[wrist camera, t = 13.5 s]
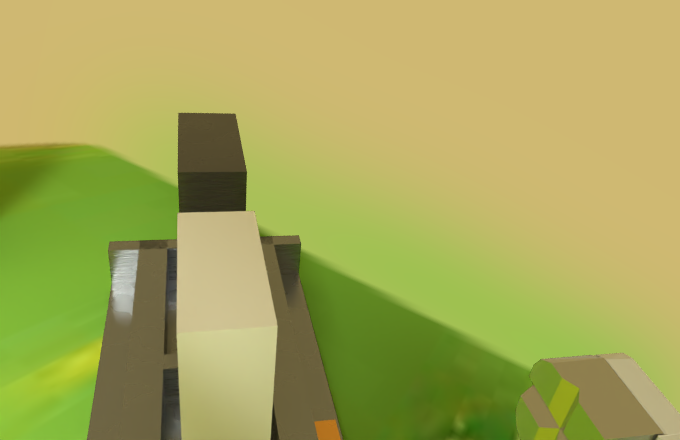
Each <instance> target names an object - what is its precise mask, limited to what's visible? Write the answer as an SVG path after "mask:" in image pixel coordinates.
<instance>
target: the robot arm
mask: <svg viewBox="0 0 680 440" xmlns="http://www.w3.org/2000/svg"><path fill="white" fill-rule="evenodd" d="M529 378H530V380H531V382H532V384H533V385H532V386H531V387H530V388H529V389H528V390H527V391H525V392H524V393H523V394H522V395H521V396H520V399H519V402H518V404H517V407H516V410H515V411H516V428H517V431H518V434H519V438H520V440H680V414H679V413H678V411H677V410H676V409H675V408H674V407H673V405H672V404H671V403H670V402H669V401H668V400H667V398H666V397H665V396H664V395H663V394H662V392H661V391H660V390H659V389H658V388H657V387H656V385H655V384H654V383H653V382H652V381H651V380H650V379H649V377H648V376H647V375H646V374H645V372H644V371H643V370H642V369H641V368H640V367H639V365H638V364H637V363H636V362H635V361H634V359H632V358H631V357H629V356H628V355H626V354H624V353H614V354H601V355H594V356H593V355H586V356H573V357H562V358H550V359H540V360H539V361H538V362H537V363H535V364H534V365H533V368H532V370H531V372H530V374H529Z"/></svg>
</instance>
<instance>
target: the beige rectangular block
mask: <svg viewBox="0 0 680 440" xmlns="http://www.w3.org/2000/svg"><path fill="white" fill-rule="evenodd" d="M277 328H278V325H277V320H276V315H275V310H274V305H273V300H272V295H271V290H270V285H269V280H268V275H267V270H266V265H265V260H264V255H263V250H262V245H261V240H260V235H259V230H258V225H257V221H256V215H255V211H232V212H190V213H178V218H177V353H178V374H179V395H180V416H181V437H182V440H270V439H271V423H272V407H273V391H274V376H275V360H276V344H277Z"/></svg>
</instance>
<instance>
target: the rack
mask: <svg viewBox="0 0 680 440" xmlns="http://www.w3.org/2000/svg"><path fill="white" fill-rule="evenodd" d="M178 117H179V119H178V123H179V125H178V189H179V213H190V212H232V211H246V180H247V171H246V165H245V160H244V156H243V151H242V146H241V140H240V135H239V130H238V125H237V120H236V115H235V114H216V113H210V114H209V113H179V116H178ZM260 240H261V245H262V250H263V255H264V260H265V265H266V270H267V275H268V280H269V285H270V290H271V295H272V300H273V305H274V310H275V315H276V320H277V325H278V328H277V344H276V360H275V376H274V391H273V407H272V423H271V439H270V440H343V437H342V434H341V430H340V426H339V422H338V419H337V415H336V411H335V408H334V404H333V400H332V396H331V393H330V389H329V385H328V382H327V378H326V374H325V371H324V367H323V363H322V359H321V356H320V352H319V348H318V345H317V341H316V337H315V333H314V330H313V326H312V322H311V319H310V315H309V311H308V307H307V304H306V300H305V296H304V293H303V289H302V285H301V281H300V278H299V263H300V250H301V242H300V239H299V236H267V237H260ZM108 254H109V263H110V272H111V281H112V285H111V291H110V298H109V304H108V310H107V317H106V323H105V329H104V336H103V342H102V348H101V355H100V361H99V367H98V374H97V380H96V386H95V393H94V399H93V405H92V412H91V418H90V424H89V431H88V437H87V440H182V437H181V416H180V395H179V374H178V353H177V239H175V240H145V241H115V242H110V243H109V248H108Z"/></svg>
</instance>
